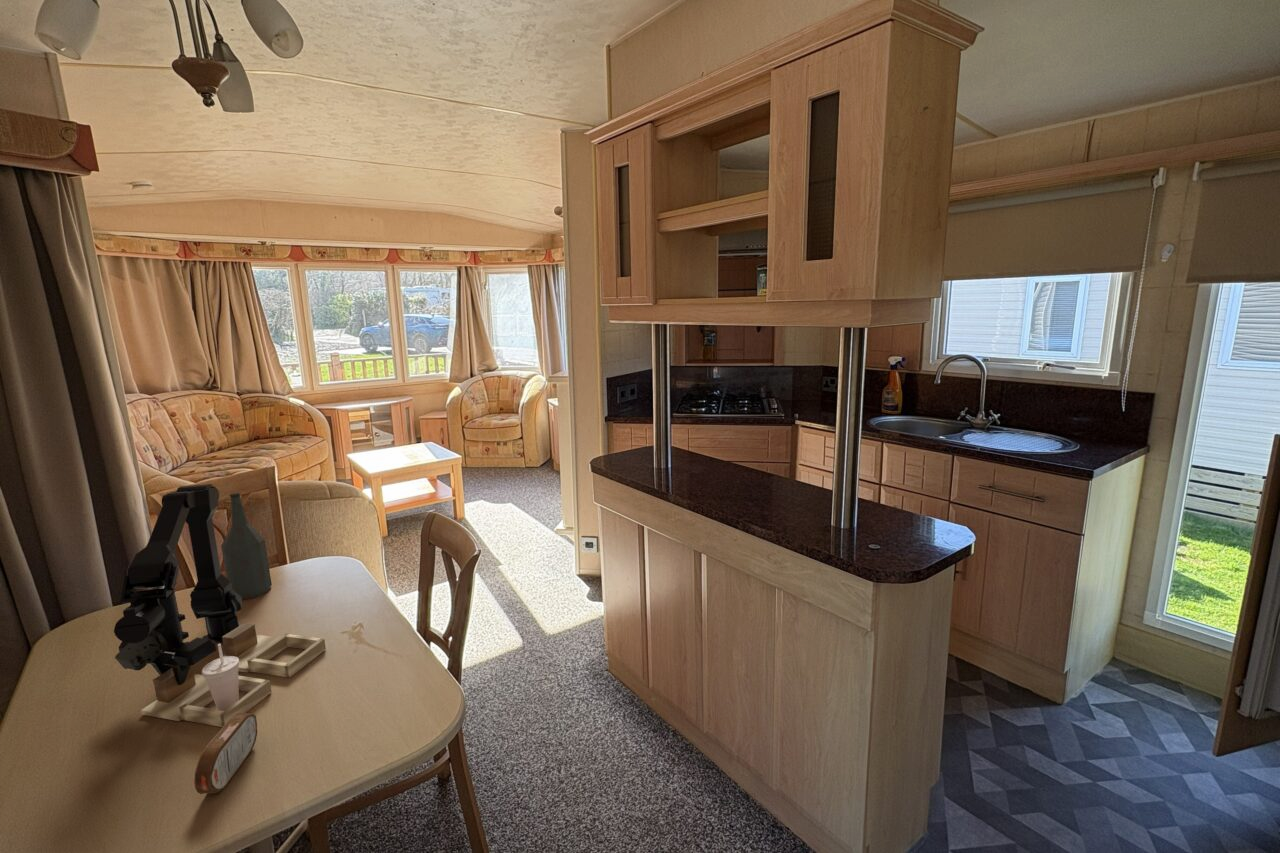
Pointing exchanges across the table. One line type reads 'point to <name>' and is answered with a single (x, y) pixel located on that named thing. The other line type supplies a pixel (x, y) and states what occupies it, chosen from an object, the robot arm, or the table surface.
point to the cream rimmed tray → (200, 698)
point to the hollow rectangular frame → (269, 650)
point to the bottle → (245, 555)
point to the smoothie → (223, 680)
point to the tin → (226, 753)
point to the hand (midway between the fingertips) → (175, 682)
